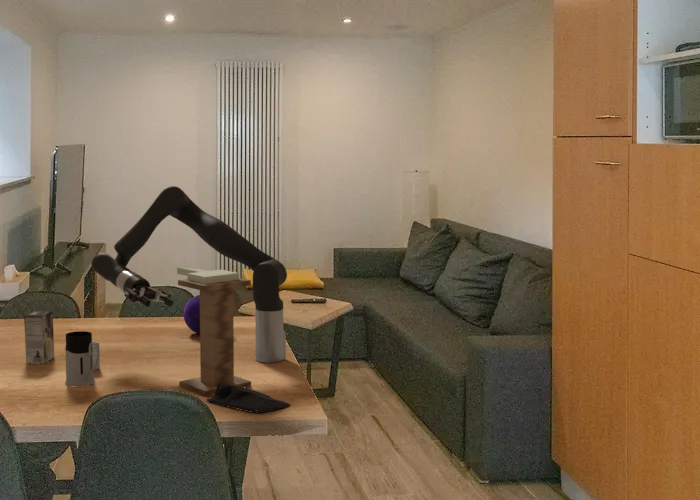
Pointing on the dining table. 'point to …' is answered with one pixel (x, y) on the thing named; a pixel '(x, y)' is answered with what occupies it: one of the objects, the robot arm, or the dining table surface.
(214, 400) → the black folded cloth
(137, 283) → the robot arm
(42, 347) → the coffee box
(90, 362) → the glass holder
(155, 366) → the dining table surface
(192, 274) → the paddle board
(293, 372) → the dining table surface
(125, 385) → the dining table surface
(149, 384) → the dining table surface
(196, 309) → the decorative orb
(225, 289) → the walnut stand
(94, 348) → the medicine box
